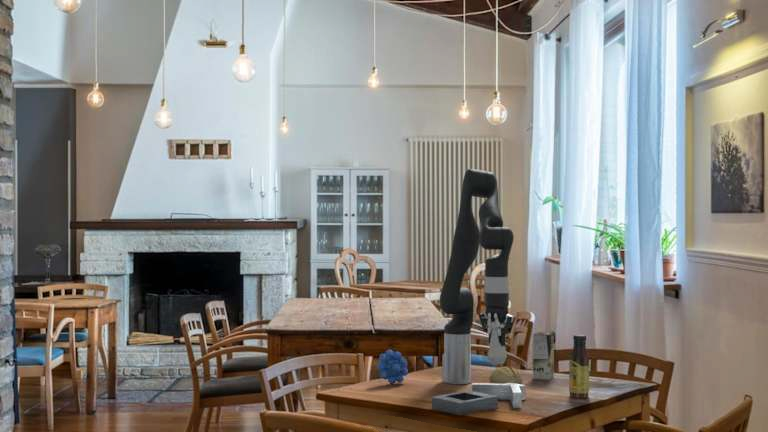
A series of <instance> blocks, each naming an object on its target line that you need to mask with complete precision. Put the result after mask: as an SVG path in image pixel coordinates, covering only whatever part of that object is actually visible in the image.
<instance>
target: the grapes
mask: <svg viewBox="0 0 768 432" xmlns="http://www.w3.org/2000/svg"><path fill="white" fill-rule="evenodd" d="M407 365H408V361H407V359H405V358H403V355H402V353H401V352H400V351H394V350H392V349H387V350H386V351H385V353H381V354H380V355H379V362H378V363H377V365H376V367H377V369H378V371H380V378H381V379H382V380H387V382H388V383H389V384H391V385H394V384H396V382H397V383H400V384H401V383H403V381H404V377H407V376H408V374H409V371H408V368H406V367H408V366H407Z"/></svg>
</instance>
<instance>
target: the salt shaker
mask: <svg viewBox="0 0 768 432" xmlns="http://www.w3.org/2000/svg"><path fill="white" fill-rule="evenodd" d="M500 325H504V323H502V324H500ZM490 328H491V329H492V334H491V340H490V344H489V347H488V352H487V358H488V360H489V363H490V364H492V365H503V364H505V362H506V360H507V357H508V356H507V349H506V345H505V346H501V343H500V344H499V339H498V336H499V335H498V328H497V327H496V322H491V324H490ZM501 329H503V327H502V328H501Z"/></svg>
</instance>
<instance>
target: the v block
mask: <svg viewBox="0 0 768 432" xmlns="http://www.w3.org/2000/svg"><path fill="white" fill-rule="evenodd" d="M471 391H474V392H479V393H484V394H489V395H494V396H498V400H508V401H509V400H510V402H511V405H512V408H515V409H516V408H518V409H519V408H521V409H522V401H525V400H526V385H525V384H522V385H521V384H516V383H506V384H493V383H491V382H490V383H488V382H487V383H486V382H485V383H484V382H480V383H479V382H476V383H475V382H472V383H471Z"/></svg>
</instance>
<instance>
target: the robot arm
mask: <svg viewBox="0 0 768 432" xmlns="http://www.w3.org/2000/svg"><path fill="white" fill-rule="evenodd" d="M472 197H475V198H476V197H477V198H482V199H485V200H484V202H483V203H482V204H481V205H480V207H479V209H478V218H479V223H480V227H481V229H480V228H479V225H478V223H477V220H476V218H475V216H474V212H473V209H472V199H473V198H472ZM459 201H460V203H459V210H458V214H457V215H458V216H457V221H456V225H455V230H454V235H453V240H452V245H451V251H450V252H451V253H450V257H449V260H448V261H449V262H448V266H447V271H446V275H445V278H444V281H443V284H442V288H441V291H440V294H439V307H440V309H441V311H442V312H443V313H444V314H446V315H452V318H451V319H450V321H449V322H447V323H446V324H445V325H444V329H443V330H444V334H443V335H444V340H443V341H444V344H443V345H444V346H443V347H444V348H443V349H444V353H443V354H442V355H441V356H442V358H441V359H442V362H441V363H442V366H441V367H442V371H441V372H442V375H441V377H442V382H444V383H446V384H451V385H466V384H470V383H471V382H472V381H471V379H472V378H471V370H472V369H471V368H472V366H471V365H472V362H471V360H472V359H471V357H472V355H471V354H472V353H471V351H472V347H471V345H472V344H471V341H472V340H471V339H472V337H471V336H472V335H471V334H472V333H471V332H472V331H471V330H472V327H473V324H474V310H475V309H474V308H475V307H474V305H475V301H474V295H473V293H472V291H471V290H470V289H469V288H468V287H465V286H464V287H463V286H462V285H463V280H464V278H465V275H466V274H467V272H468V270H469V269H470V268H471V266H472V265H473V263H474V261H475V260H476V258H477V256H478V253H479V250H480V249H479V248H480V247H482V249H484V250H488V251H491V250H493V251H495V250H496V251H497V250H498V251H499V250H500V253H499V254H498V255H497V256H492V257H488V258H487V259H486V260H485V262H484V264H485V265H484V273H485V274H484V276H485V277H484V285H483V286H484V287H483V288H484V289H483V290H484V307H485V310H484V312H483V313H479V314H478V318H479V321H480V325H481V327H482V331H483V333H486V334H487V335H488V345H490V340H491V334H492V329H491V328H490V324H491V322H496V327H497V328H498V335H499V336H498V339H499V344H500V343H501V346H505V347H506V335H509V334H511V332H512V331H513V326H514V324H515V322H516V321H515V320H516V316H515V315H511V314H509V311H508V307H509V305H510V289H509V287H510V283H509V260H510V259H509V258H510V254H511V250H512V247H513V243H514V238H515V237H514V233H513V230H512V229H511V228H510V227H507V226H504V220H503V217H502V214H501V210H500V203H499V201H500V200H499V185H498V179H497V177H496V174H495V173H494V172H491V171H487V170H480V169H473V168H468V169H467V170H466V171H465V173H464V176H463V180H462V185H461V195H460V200H459ZM502 323H504V325H500V324H502ZM502 327H503V329H501V328H502Z"/></svg>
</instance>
